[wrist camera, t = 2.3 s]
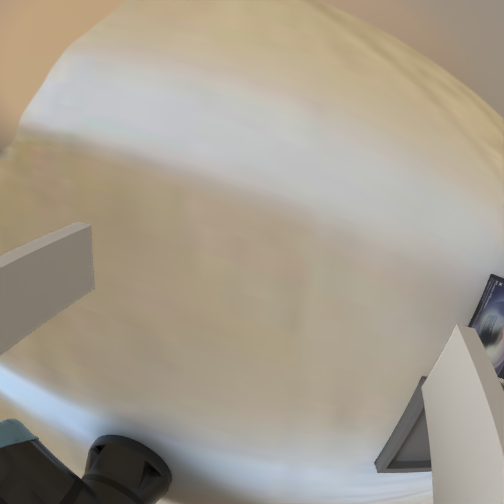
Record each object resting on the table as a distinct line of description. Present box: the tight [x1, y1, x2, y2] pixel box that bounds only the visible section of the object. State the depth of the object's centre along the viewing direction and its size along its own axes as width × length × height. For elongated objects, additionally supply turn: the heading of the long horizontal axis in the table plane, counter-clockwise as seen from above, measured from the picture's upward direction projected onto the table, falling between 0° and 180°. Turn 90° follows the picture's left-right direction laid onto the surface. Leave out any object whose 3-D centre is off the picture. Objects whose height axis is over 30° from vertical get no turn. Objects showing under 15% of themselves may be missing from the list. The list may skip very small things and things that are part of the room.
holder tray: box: [374, 377, 504, 473], centre depth 37 cm, size 17×17×2 cm
